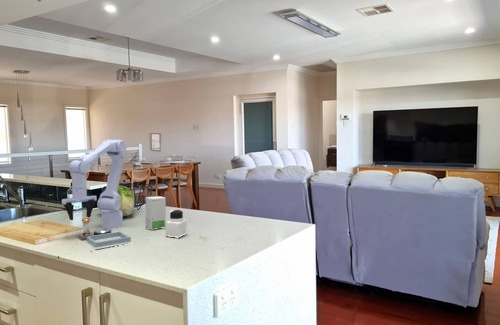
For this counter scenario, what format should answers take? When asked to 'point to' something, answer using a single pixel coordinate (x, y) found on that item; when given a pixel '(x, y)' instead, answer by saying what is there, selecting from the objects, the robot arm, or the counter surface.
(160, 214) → the skincare box
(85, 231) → the lock pin
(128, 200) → the lettuce
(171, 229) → the medicine bottle
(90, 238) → the tray
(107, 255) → the counter surface
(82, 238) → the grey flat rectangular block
